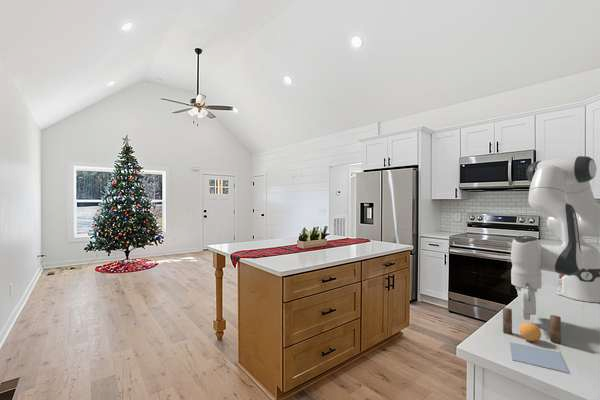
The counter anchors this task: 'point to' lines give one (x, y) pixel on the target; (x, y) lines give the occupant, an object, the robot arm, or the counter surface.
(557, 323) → the post
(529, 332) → the ball
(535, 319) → the counter surface
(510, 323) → the post
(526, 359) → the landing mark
